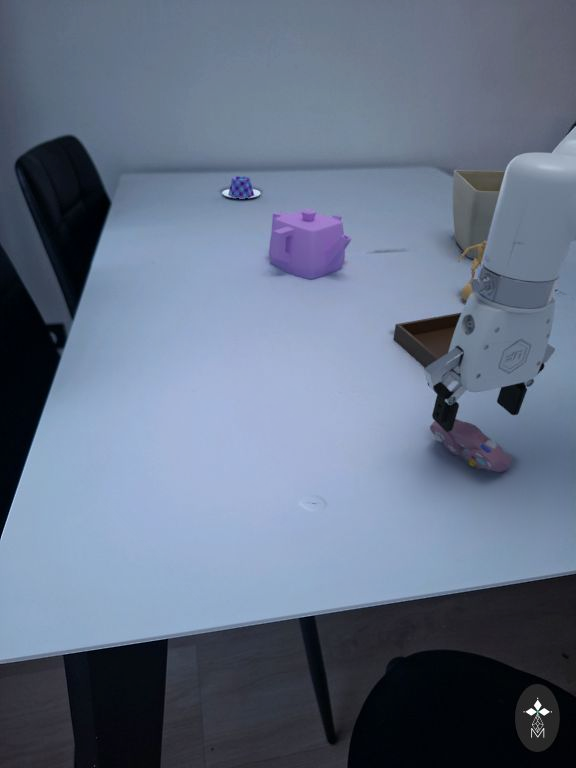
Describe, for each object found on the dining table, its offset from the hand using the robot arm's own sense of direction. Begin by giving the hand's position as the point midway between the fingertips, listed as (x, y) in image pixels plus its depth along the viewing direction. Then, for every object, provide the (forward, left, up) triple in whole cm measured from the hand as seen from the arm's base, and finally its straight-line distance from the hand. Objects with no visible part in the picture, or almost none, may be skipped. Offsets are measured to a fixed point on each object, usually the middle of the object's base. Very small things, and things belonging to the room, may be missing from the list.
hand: (474, 416), depth 64 cm
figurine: (-31, -39, -7) cm, 50 cm away
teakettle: (-7, -66, -7) cm, 67 cm away
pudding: (-10, -126, -7) cm, 127 cm away
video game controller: (0, 0, -7) cm, 7 cm away
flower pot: (-53, -61, -7) cm, 81 cm away
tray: (-16, -23, -7) cm, 29 cm away
